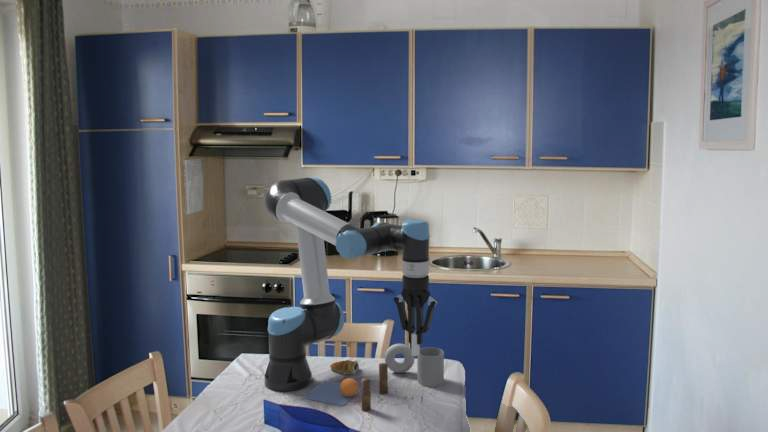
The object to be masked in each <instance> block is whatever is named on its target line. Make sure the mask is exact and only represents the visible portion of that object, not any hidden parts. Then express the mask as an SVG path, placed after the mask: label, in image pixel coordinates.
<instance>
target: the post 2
mask: <svg viewBox="0 0 768 432" xmlns="http://www.w3.org/2000/svg"><path fill="white" fill-rule="evenodd" d="M378 366H379V367H378V368H379V369H378V387H379V389H378V390H379V391H378V392H379V394H380V395H387V394H388V390H389V387H388V386H389V384H388V380H389V379H388V377H389V376H388V375H389V374H388V369H389V368H388V364H386V363H385V362H382V363H379V364H378Z"/></svg>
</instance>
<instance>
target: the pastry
mask: <svg viewBox="0 0 768 432" xmlns="http://www.w3.org/2000/svg"><path fill="white" fill-rule="evenodd" d="M329 367H330V369H331V371H332V372H335V371H336V372H335V373H338V374H342V373H345V374H344V375H349V374H350V376H351V375H352V374H353V375H356V373H357V371H359V369H360V366H359V362H358V361H357V360H351V359H350V360H349V359H346V360H339V361H336V362H333V363H332V364H330V366H329Z"/></svg>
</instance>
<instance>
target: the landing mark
mask: <svg viewBox="0 0 768 432" xmlns="http://www.w3.org/2000/svg"><path fill="white" fill-rule="evenodd" d="M341 383H342V382H336V381H335V382H334V381H329V380H324V381H323V382H321V383H320V384H318V385H317V386H315V387H314V388H313V389H312V390H309V392H307V394H305V395H304V396H303V397H302V399H305V400H311V401H316V402H320V403H326V404H330V405H331V404H332V405H336V406H340V407H341V406H342V407H345V405H347V404H348V403H349V402H350V401H352V400H353V398H355V397H356V396H357V395H358V394H359V393H360V392H361V386H358V391H357V393H356V394H355V395H354V396H352V397H346V396H344V395H343V394H342V393H341V391H340V385H341Z"/></svg>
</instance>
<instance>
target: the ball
mask: <svg viewBox="0 0 768 432" xmlns="http://www.w3.org/2000/svg"><path fill="white" fill-rule="evenodd" d="M340 383H341V385H340V391H341V393H342V394H343V395H344V396H346V397H352V396H354V395H355V394H356V393H357V391H358V387H359V384H358V383H357V380H355V379H353V378H351V377H348V378H345V379H343V380H342V381H341V382H340ZM354 397H355V396H354Z"/></svg>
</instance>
